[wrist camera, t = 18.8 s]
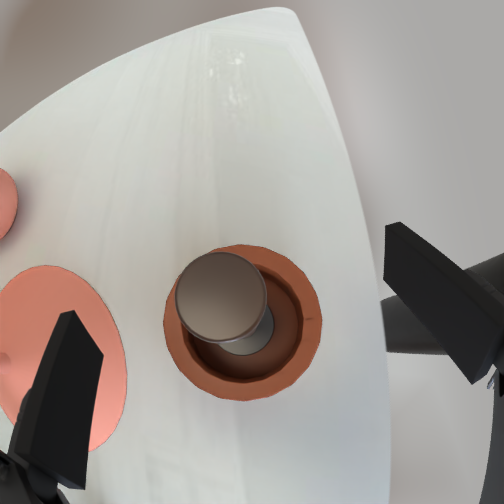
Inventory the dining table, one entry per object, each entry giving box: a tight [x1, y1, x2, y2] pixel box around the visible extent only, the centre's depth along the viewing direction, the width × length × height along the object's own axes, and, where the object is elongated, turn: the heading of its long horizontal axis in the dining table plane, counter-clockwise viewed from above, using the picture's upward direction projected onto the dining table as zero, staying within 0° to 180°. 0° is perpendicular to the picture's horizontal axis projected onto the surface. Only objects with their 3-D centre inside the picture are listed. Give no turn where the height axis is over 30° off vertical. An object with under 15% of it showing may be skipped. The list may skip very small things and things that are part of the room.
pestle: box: [174, 251, 274, 356], centre depth 16 cm, size 4×4×20 cm
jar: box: [163, 244, 322, 401], centre depth 23 cm, size 10×10×8 cm
